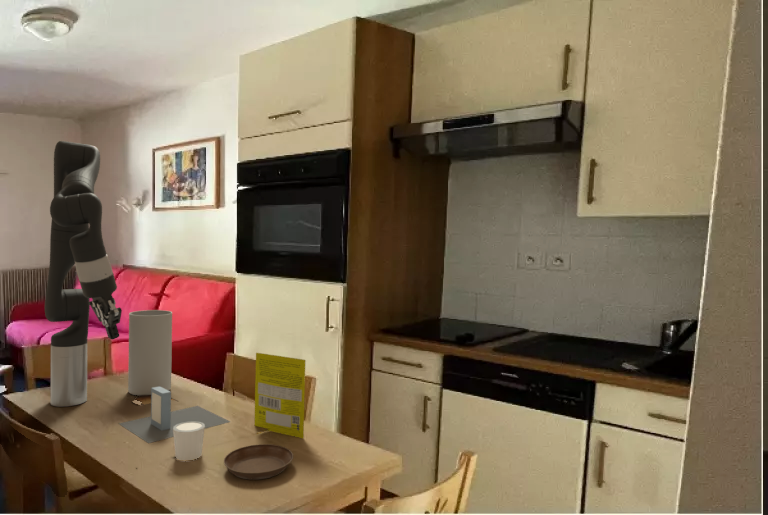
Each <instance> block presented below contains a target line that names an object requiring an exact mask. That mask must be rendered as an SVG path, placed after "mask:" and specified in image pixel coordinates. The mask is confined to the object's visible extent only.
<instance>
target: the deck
mask: <svg viewBox="0 0 768 515" xmlns="http://www.w3.org/2000/svg"><path fill="white" fill-rule="evenodd" d="M171 398H172V391H170V390H169V391H168V390H166V389H164V388H162V387H160V386H159V387H154V388H151V403H150V416H151V424H152V425H154V426H155V427H157V428H159V429H160V430H166V429H170V425H171V412H172V411H171V410H172V408H171V407H172V400H171Z"/></svg>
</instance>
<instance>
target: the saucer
mask: <svg viewBox="0 0 768 515" xmlns="http://www.w3.org/2000/svg"><path fill="white" fill-rule="evenodd" d="M293 459H294V453H293V452H292V450H290V449H289V448H287V447H285V446H282V445H278V444H277V445H276V444H270V443H268V444H267V443H263V444H262V443H261V444H253V445H245V446H243V447H239V448H237V449H234V450H232V451H230V452H229V453H227V455H225V457H224V458H223V464H224V466H225V468H226V469H227V470H228V471H229V472H230V473H231V474H233V476H234V475H235V477H238V478H240V479H243V480H250V481H251V480H254V481H256V480H257V481H258V480H265V479H270V478H273V477H275V476H278V475H279V474H281V473H282V472H284V471H285V470H286V469H287V468H288V467H289V465H290V464H291V463H292V461H293Z"/></svg>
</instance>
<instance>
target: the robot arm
mask: <svg viewBox="0 0 768 515" xmlns="http://www.w3.org/2000/svg"><path fill="white" fill-rule="evenodd" d="M100 168H101V154H100V150H99V148H98V147H97V146H94V145H91V144H85V143H80V142H73V141H68V140H67V141H66V140H59V141H58V142H57V143H56V145H55V147H54V152H53V198H52V200H51V203H50V206H49V214H50V218H51V225H50V238H49V243H50V244H49V245H50V246H49V247H50V248H49V267H48V268H49V269H48V277H47V283H46V292H45V296H44V297H45V298H44V313H45V314H44V316H45V318H46V319H47V321H48V322H51V323H55V322H56V323H57V322H58V323H59V322H71V321H72V323H71V324H70V325H69V326H68V327H66V328H64V329H63V330H60V331H58V332H55V333H54V334H52V335H51V337H50V405H51V406H54V407H71V406H72V407H73V406H77V405H81V404H83V403H85V402H87V400H88V337H89V323H90V322H89V320H90V319H89V318H90V310H91V309H92V311H93V313H94V315H95V316H96V318H97V319H98V321H99V323H101V324H102V325H103V326H104V328H105V332H106V335H107V338H108V339H109V340H113V341H114V340H115V339H118V338H119V337H120V333H119V330H118V326H117V324H120V323H121V319H122V318H121V317H122V311H123V310H122V308H121V307H116V304H117V303H116V300H115V298H114V296H113V295H112V294H113V293H114V292H116V291H117V289H118V286H117V282H116V278H115V275H114V271H113V268H112V264H111V261H110V259H109V257H108V253H107V250H106V247H105V243H104V240H103V233H102V232H103V231H102V221H103V220H102V219H103V204H102V202H101V199H100V198H99V197H98V196H97V194H95V185H96V182H97V179H98V177H99V174H100ZM74 265H75V271H76V274H77V278H78V281H79V285H80V288H68V289H66V288H65V289H63V286H64V282H65V280H66V278H67V276H68V274H69V272H70V271H71V269H72V268H73V267H74ZM90 299H92V300H91V301H90ZM90 307H91V309H90Z"/></svg>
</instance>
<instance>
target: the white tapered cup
mask: <svg viewBox="0 0 768 515" xmlns="http://www.w3.org/2000/svg"><path fill="white" fill-rule="evenodd" d="M204 428H205V424H204V423H201V422H195V421H191V422H183V423H180V424H177V425H175V426H174V427H173V434H174V437H173V444H174V455H175V457H176V458H177V459H179V460H193V459H196V460H198V459H197V458H199V457H200V456H201V457H202V454H203V444H204V437H205V435H204V434H205V429H206V428H205V429H204ZM175 457H174V458H175ZM201 457H200V458H201ZM176 458H175V459H176ZM200 458H199V459H200ZM177 459H176V460H177ZM193 461H194V460H193Z"/></svg>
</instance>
